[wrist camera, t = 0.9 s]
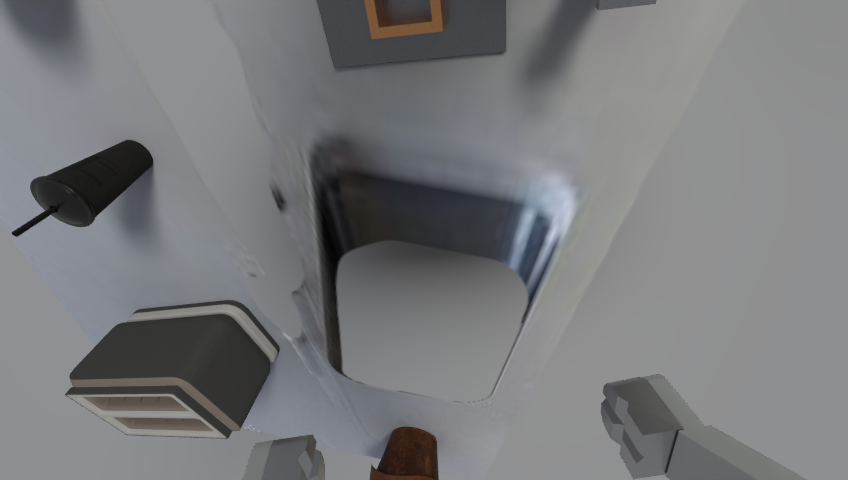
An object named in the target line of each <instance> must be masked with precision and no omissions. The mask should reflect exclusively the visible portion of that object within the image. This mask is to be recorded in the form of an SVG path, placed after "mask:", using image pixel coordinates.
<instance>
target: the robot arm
mask: <svg viewBox="0 0 848 480" xmlns="http://www.w3.org/2000/svg"><path fill="white" fill-rule="evenodd" d="M603 394H604V395H605V397H606V399H605V400H604V401H603V402H602V403H601V415H602V419H603V423H604V426H605V428H606V430H607V432H608V434H609V436H610V438H611V439H612V440H614V441H615V442H617V443H618V444H620V445H621V449H620V456H621V458H622V459H623V461H624V463H625V465H626V467H627V468H628V470H629V472H630V474H631V475H632V477H633V479H637V478H644V477H651V476H658V475H664V474H666V477H668V478H669V479H670V480H807V479H805V478H804V477H802V476H800V475H798V474H797V473H795V472H793V471H791V470H789V469H788V468H786V467H784V466H782V465H780V464H779V463H777V462H775V461H773V460H772V459H770V458H768V457H766V456H764V455H763V454H761V453H759V452H757V451H756V450H754V449H752V448H750V447H748V446H747V445H745V444H743V443H741V442H740V441H738V440H736V439H734V438H732V437H731V436H729V435H727V434H725V433H724V432H722V431H720V430H718V429H716V428H715V427H713V426H711V425H709V426H704V424H703V423H702V422H701V421H700V419H699V418H698V417H697V416H696V414H695V413H694V412H693V411H692V410H691V408H690V407H689V406H688V405H687V403H686V402H685V401H684V400H683V399H682V397H681V396H680V395H679V394H678V392H677V391H676V390H675V389H674V387H673V386H672V385H671V384H670V383H669V382H668V380H667V379H666V378H665V377H664V376H663V375H661V374H656V375H651V376H646V377H637V378H632V379H626V380H621V381H616V382H611V383H606V384H605V385H604V388H603ZM315 447H316V440H315V438H314V436H313V434H312V435H306V436H299V437H293V438H286V439H279V440H273V441H267V442H260V443H256V444H255V446H254V447H253V449H252V450H251V454H250V457H249V460H248V463H247V466H246V470H245V473H244V476H243V479H242V480H325V464H324V459H323V456H322V454H321V452H320V451H318V450H316V449H315Z"/></svg>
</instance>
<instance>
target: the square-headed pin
mask: <svg viewBox="0 0 848 480" xmlns="http://www.w3.org/2000/svg"><path fill="white" fill-rule="evenodd" d="M649 4H656V0H596V8H597V9H598V10H604V9H613V8H622V7H631V6H640V5H649Z"/></svg>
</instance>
